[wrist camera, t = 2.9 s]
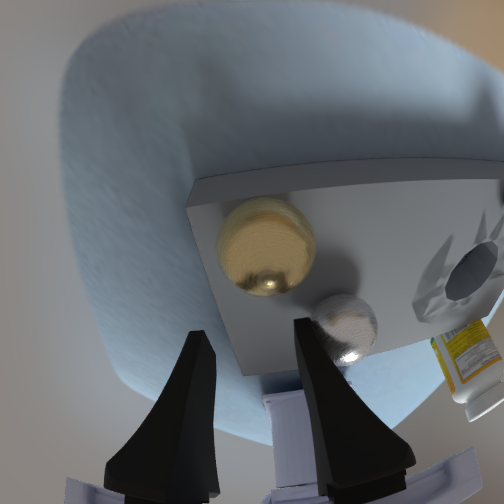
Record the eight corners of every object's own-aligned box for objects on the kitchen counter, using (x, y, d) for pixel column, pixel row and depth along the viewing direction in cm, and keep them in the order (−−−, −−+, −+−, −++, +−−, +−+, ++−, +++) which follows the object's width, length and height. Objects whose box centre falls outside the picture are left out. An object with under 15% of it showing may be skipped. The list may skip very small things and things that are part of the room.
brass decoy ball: (306, 250, 10) (325, 310, 8) (228, 260, 10) (225, 323, 8) (302, 176, 8) (329, 225, 6) (210, 189, 9) (199, 243, 6)
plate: (474, 294, 17) (487, 315, 15) (242, 344, 18) (243, 375, 16) (519, 163, 10) (544, 181, 8) (195, 179, 11) (185, 208, 9)
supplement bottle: (445, 304, 17) (494, 403, 10) (480, 299, 18) (525, 381, 10) (417, 344, 21) (450, 433, 13) (453, 336, 21) (487, 413, 13)
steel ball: (353, 317, 13) (382, 363, 11) (296, 336, 13) (319, 389, 10) (360, 270, 12) (399, 319, 9) (294, 290, 11) (324, 349, 9)
